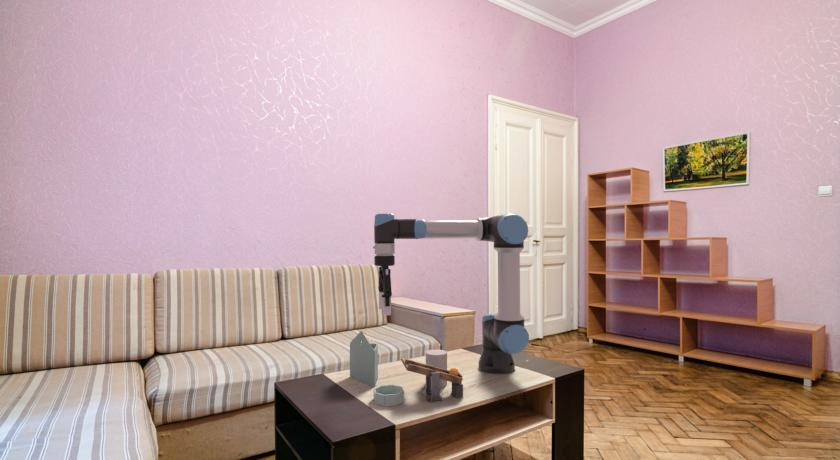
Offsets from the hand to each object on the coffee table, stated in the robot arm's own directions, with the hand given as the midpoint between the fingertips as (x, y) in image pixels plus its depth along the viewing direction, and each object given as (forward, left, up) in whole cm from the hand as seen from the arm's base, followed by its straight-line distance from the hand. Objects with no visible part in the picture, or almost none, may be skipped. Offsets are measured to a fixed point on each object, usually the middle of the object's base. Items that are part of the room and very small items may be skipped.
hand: (384, 312), depth 164 cm
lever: (-15, +9, -20) cm, 27 cm away
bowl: (0, +13, -28) cm, 31 cm away
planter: (+5, -10, -28) cm, 30 cm away
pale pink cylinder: (-20, 0, -28) cm, 34 cm away
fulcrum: (-15, +13, -28) cm, 34 cm away
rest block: (-24, +13, -28) cm, 39 cm away
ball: (-23, +13, -20) cm, 33 cm away
